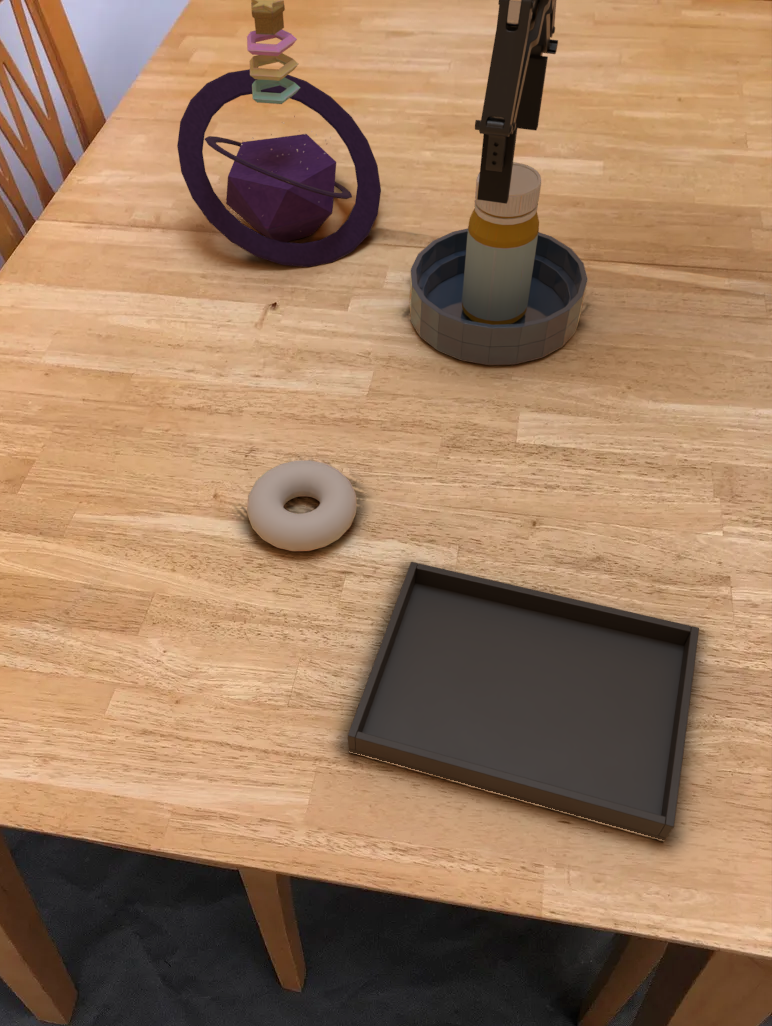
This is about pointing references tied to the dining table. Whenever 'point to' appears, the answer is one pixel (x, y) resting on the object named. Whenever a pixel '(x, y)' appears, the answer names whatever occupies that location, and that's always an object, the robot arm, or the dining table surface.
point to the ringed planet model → (278, 160)
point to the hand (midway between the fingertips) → (508, 162)
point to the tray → (532, 698)
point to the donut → (302, 527)
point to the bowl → (525, 340)
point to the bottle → (502, 251)
